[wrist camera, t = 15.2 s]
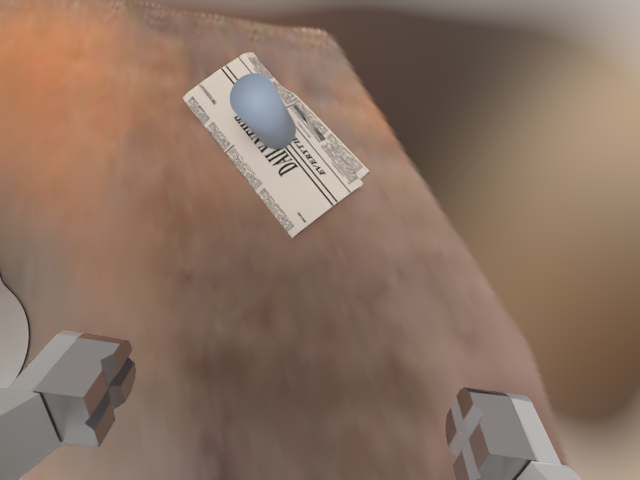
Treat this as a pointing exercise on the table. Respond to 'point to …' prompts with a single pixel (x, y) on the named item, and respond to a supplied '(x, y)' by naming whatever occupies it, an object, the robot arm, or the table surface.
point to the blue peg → (262, 110)
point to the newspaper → (278, 150)
